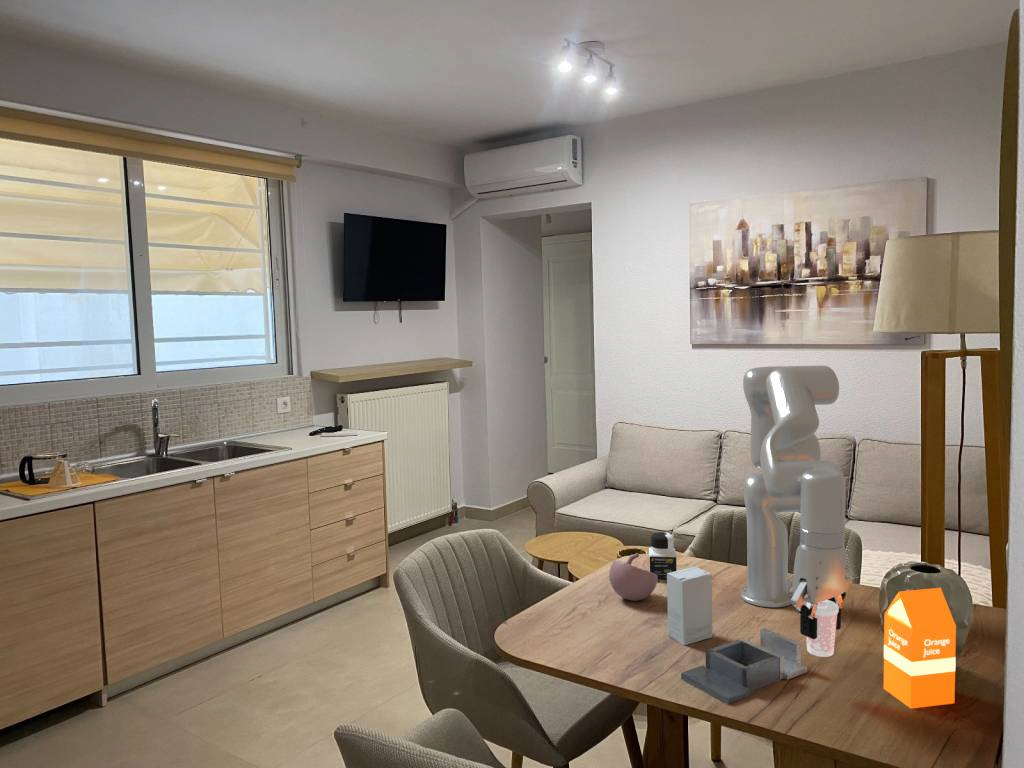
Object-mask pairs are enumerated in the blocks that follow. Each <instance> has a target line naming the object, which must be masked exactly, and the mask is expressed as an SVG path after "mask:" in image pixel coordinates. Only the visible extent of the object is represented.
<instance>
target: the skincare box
mask: <svg viewBox="0 0 1024 768" xmlns="http://www.w3.org/2000/svg"><path fill="white" fill-rule="evenodd" d="M666 590H667V593H666V594H667V595H666V596H667V599H666V600H667V635H668V637H669V638H671V639H673V640H675V641H676V642H677V643H679V644H681V645H682V646H687V645H691V644H694V643H697V642H700V641H703V640H708V639H711V638H713V574H712V573H710V572H708V571H706V570H704V569H702V568H700V567H697V566H696V565H695V566H691V567H687V568H684V569H679V570H677V571H675V572H671V573H667V581H666Z"/></svg>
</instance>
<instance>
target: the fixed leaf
mask: <svg viewBox="0 0 1024 768" xmlns="http://www.w3.org/2000/svg"><path fill="white" fill-rule="evenodd" d="M680 677H681V680H682V681H685V682H686V683H688V684H689V685H692V686H693V687H695V688H696V689H699V690H701V691H702V692H704V693H706V694H708V695H710V697H711V696H712V697H714V699H717V700H719V701H721V702H722V703H724V704H726V705H730V704H732V703H735V702H738V701H740V700H743V699H745V698H748V697H750V696H751V693H753V692H756V691H758V690H760V689H762V688H765V687H767V686H771V685H772V684H773V685H774V684H776V683H778V682H779V681H780V680H779V658H776V657H774V656H773V657H771V658H768V659H765V660H763V661H760V662H757V663H754V664H752V665H747V666H746V665H743V662H742V642H741V641H739V640H738V639H736V640H733V641H730V642H727V643H724V644H721V645H718V646H716V647H713V648H709V649H707V650H705V665H703V664H701V665H699V666H696V667H695V668H692V669H688V670H685V671H683V672H681V674H680Z"/></svg>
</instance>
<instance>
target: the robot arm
mask: <svg viewBox="0 0 1024 768" xmlns="http://www.w3.org/2000/svg"><path fill="white" fill-rule="evenodd" d="M742 384H743V385H742V387H743V393H744V397H745V400H746V401H747V404H748V407H749V410H750V459H751V462H752V465H753V466H754V467H755V468H757V469H759V470H760V469H761V472H759V473H758V472H757V473H754V474H751V475H749V476H747V477H746V479H745V480H744V482H743V486H742V492H743V499H744V505H745V512H746V535H747V536H746V537H747V539H746V543H747V544H746V547H747V548H746V551H747V554H746V555H747V559H746V560H747V561H746V563H747V567H746V570H747V573H746V575H747V576H746V577H747V578H746V579H747V581H746V583H747V585H746V586H747V587H744V588H743V589H741V591H740V597H741V599H742V600H744V602H746V603H748V604H751V605H754V606H759V607H763V608H783V607H788V606H790V605H792V606H793V607H794V608H795V609H796V611H797V613H798V614H799V615H800V618H799V623H800V625H799V627H800V628H799V631H800V634H801V635H803V636H804V637H806V636H807V637H809V638H811V639H816V638H817V618H815V614H816V610H817V606H818V603H819V602H822V601H825V600H830V601H833V602H835V603H836V604H838V606H839V612H838V614H837V621H836V630H837V631H838V630H841V628H842V608H844V607H843V606H844V602H843V601H844V599H845V598H846V594H847V592H848V590H849V588H850V586H851V582H850V581H849V579H848V565H847V564H848V563H847V562H848V561H847V554H846V553H847V552H846V547H845V540H846V539H845V533H846V532H845V529H846V527H845V526H846V525H845V524H846V483H847V482H846V478H845V476H844V473H843V470H842V469H841V468H840V466H839V465H838V464H837V463H836V462H834V461H831V460H822V459H821V458H822V457H821V446H820V445H821V444H820V441H819V439H818V436H816V434H815V433H816V432H817V431H818V429H819V426H820V419H819V415H818V413H817V409H816V405H817V406H819V405H822V406H823V405H824V406H826V405H832V404H834V403H836V401H837V400H838V397H839V394H840V383H839V379H838V376H837V374H836V373H835V371H834V370H833V369H832V368H831V367H830V366H828V365H794V366H793V365H788V366H783V365H782V366H781V365H780V366H777V365H775V366H760V367H758V366H757V367H753V368H751V369H750V368H749V369H748V370H747V371H746V372H745V373H744V374H743V382H742ZM778 513H800V525H799V526H800V527H799V545H798V546H797V547H796V548H797V549H796V553H795V557H794V565H793V571H792V572H793V573H792V574H793V575H792V578H789V579H788V576H789V575H788V574H789V573H788V571H789V570H788V569H789V567H788V566H789V563H788V562H789V558H788V557H789V556H788V555H789V549H788V548H789V544H788V543H789V542H788V541H789V539H788V538H789V533H788V528H787V526H786V524H785V523H784V522H783V521H782V519H780V518H779V516H778V515H777V514H778ZM791 589H792V592H791ZM808 597H809V598H808ZM807 602H808V603H811V607H810V609H809V608H808V607H807V606H806V605H807Z"/></svg>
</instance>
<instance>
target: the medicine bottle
mask: <svg viewBox="0 0 1024 768" xmlns="http://www.w3.org/2000/svg"><path fill="white" fill-rule="evenodd" d="M674 541H675V540H674V535H673V534H671V533H670V532H664V531H661V532H660V531H659V532H654V533H652V534H651V536H650V547H649V548H648V559H649V560H648V571H650V572H652V573H654V574H656V575H657V576H658V580H657V582H667V573H671V572H675V571H678V570H677V568H678V567H677V566H678V565H677V564H678V563H677V551H676V548H675V546H674V543H675V542H674Z"/></svg>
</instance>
